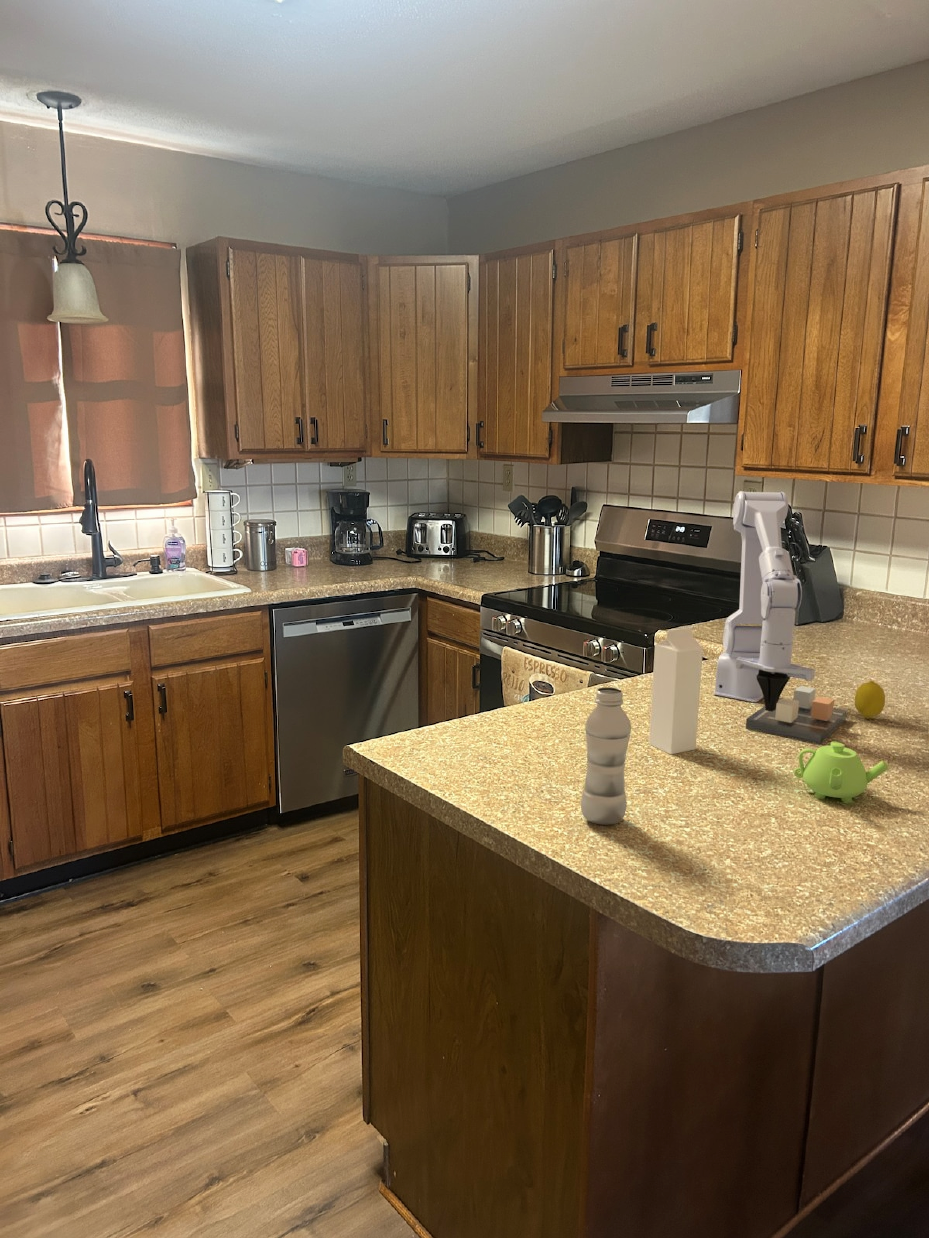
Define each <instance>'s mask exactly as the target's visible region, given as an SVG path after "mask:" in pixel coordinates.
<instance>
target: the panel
mask: <svg viewBox="0 0 929 1238" xmlns="http://www.w3.org/2000/svg"><path fill="white" fill-rule="evenodd" d="M782 699H783V698H780V697H779V700H778V702H779V701H780V700H782ZM811 710H812V706H811V707H810V708H809V709H806V708H801V707H798V717H797V718H796V719H795V720H794V721H793V722H791V723H789V722H784V721H779V720H775V715H776V710H774V711H773V712H771V711H766V710H765V705H763V706H762V707H761V708H760V709H757V711H756V712H754V713H753V714H751V715H750V716H748V717H747V718H746V719H745V720H746V721H745V729H746V730H750V731H754V732H760V733H765V734H768V735H769V734H770V735H774V736H779V737H783V738H787V739H788V738H789V739H794V740H798V741H801V742H802V741H803V742H807V743H813V744H817V745H822V743H823V742H825V740H826V739H828V738H829V737H830V736H831V735H832V734H833V733H834V732H835V731H836V730H837V729H839V727H841V725H842V724H844V722H845V721H846V720H847V712H848V711H847V709H840V708H835V707H833V716H832V717H831V718H830V719H828V720H827V721H825V720H819V719H814V718H811Z"/></svg>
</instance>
